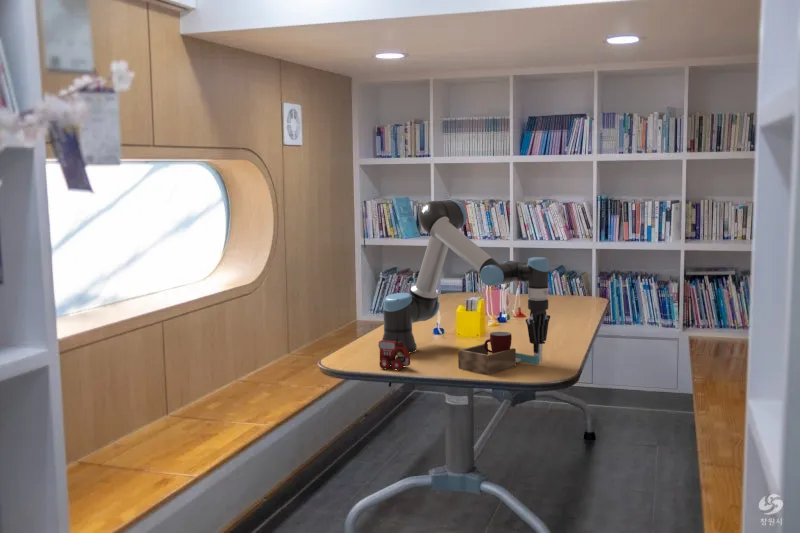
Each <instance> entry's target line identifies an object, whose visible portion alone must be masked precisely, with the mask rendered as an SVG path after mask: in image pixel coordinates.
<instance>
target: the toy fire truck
mask: <svg viewBox="0 0 800 533" xmlns="http://www.w3.org/2000/svg"><path fill="white" fill-rule="evenodd" d="M378 348H379V367H380V368H381V369H382V368H388V369H390V367H392V369H393V370H394V369H397V370H398V371H400V370H402V369H403V368H404V367H403V366H406V367H409V366H411V354H410V353H409V352H408V350H407V348H406V346H403V342H402V341H399V342H398V343H397V342H395V341H384V340H382V339H381V340H379V341H378ZM398 349H399V350H398ZM397 350H398V351H397ZM396 351H397V352H396ZM390 365H392V366H390ZM397 370H396V371H397Z"/></svg>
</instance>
